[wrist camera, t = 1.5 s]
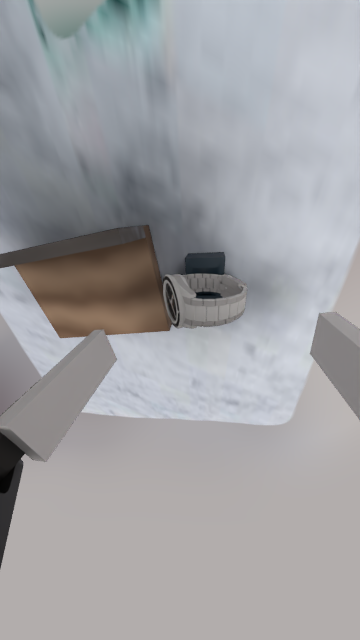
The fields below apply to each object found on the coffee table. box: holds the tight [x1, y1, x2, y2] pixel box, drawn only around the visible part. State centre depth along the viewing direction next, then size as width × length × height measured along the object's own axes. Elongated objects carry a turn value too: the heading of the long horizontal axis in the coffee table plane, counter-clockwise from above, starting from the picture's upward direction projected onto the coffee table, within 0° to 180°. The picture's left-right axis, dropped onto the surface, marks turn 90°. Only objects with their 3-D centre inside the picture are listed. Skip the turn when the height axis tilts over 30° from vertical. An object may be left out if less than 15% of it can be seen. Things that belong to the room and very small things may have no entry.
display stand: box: [0, 225, 172, 338], centre depth 23 cm, size 14×20×8 cm
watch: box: [163, 252, 247, 328], centre depth 18 cm, size 6×8×11 cm
